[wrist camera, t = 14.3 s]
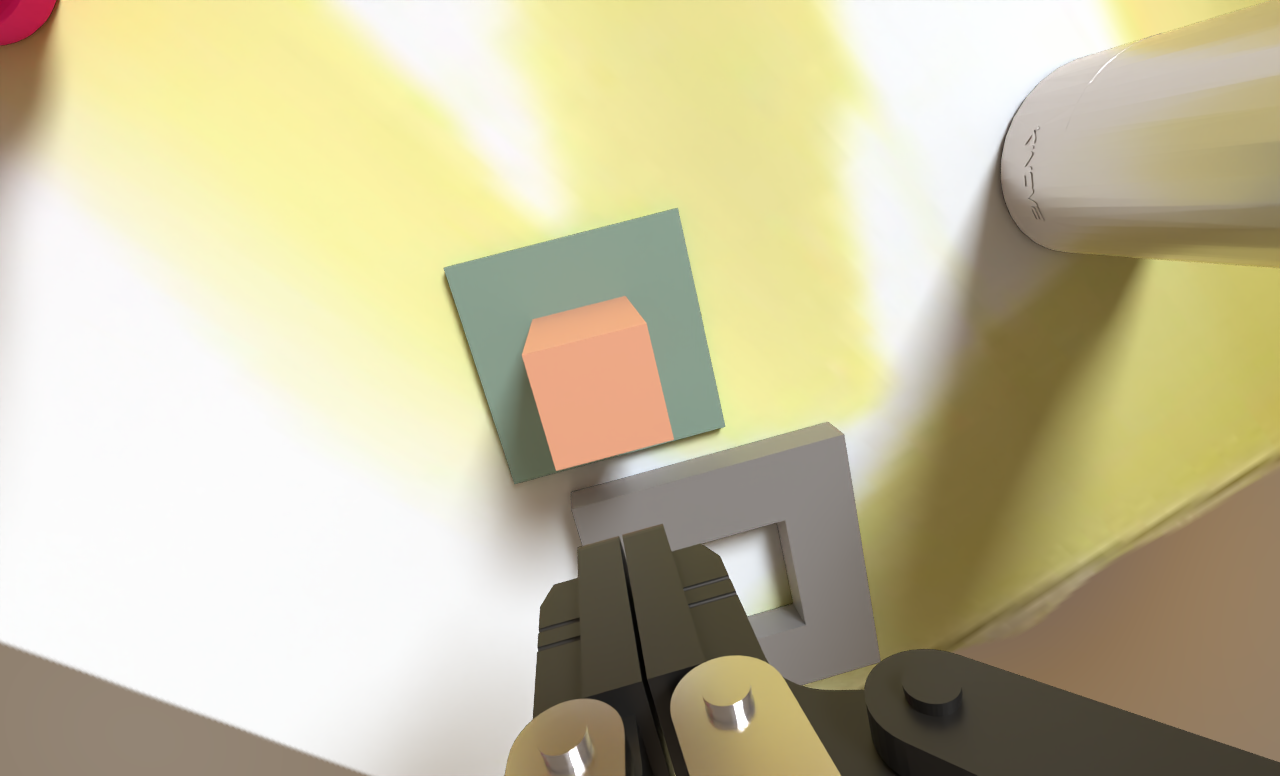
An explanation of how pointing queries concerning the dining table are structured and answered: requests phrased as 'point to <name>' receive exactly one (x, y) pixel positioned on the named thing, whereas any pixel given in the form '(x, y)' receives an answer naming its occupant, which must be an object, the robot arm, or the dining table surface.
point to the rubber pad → (575, 277)
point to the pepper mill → (22, 18)
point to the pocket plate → (755, 497)
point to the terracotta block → (595, 382)
